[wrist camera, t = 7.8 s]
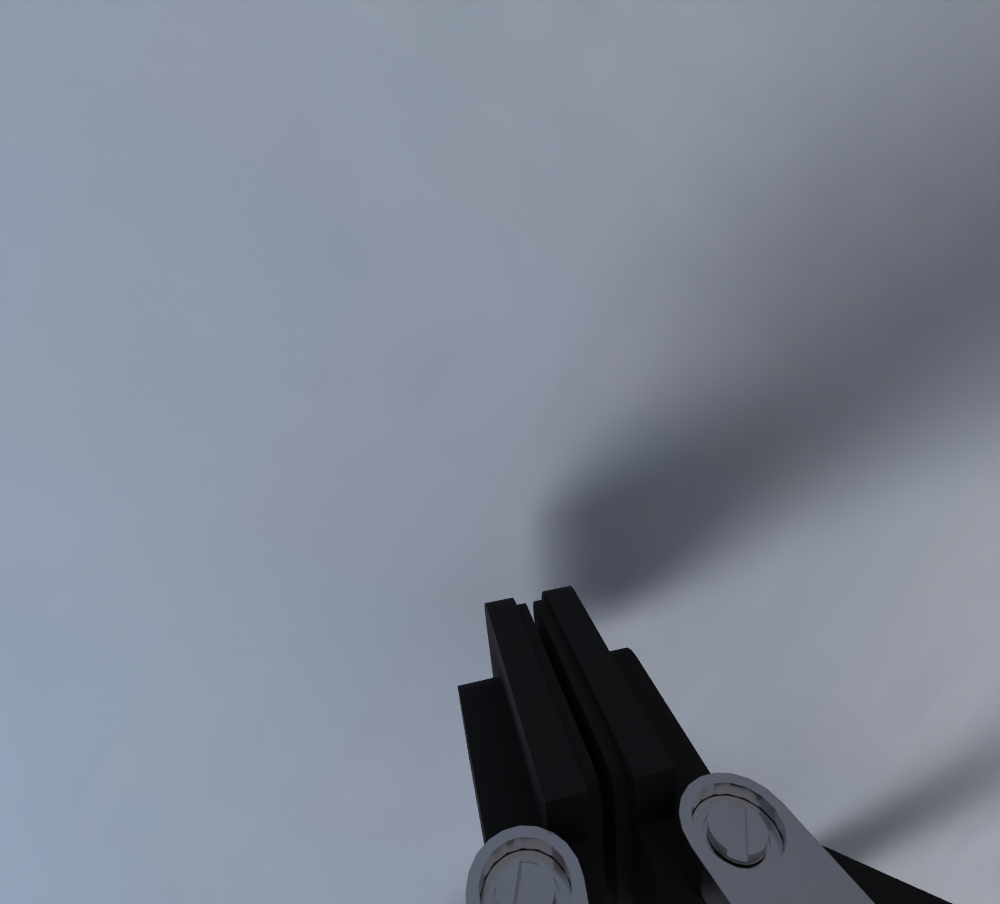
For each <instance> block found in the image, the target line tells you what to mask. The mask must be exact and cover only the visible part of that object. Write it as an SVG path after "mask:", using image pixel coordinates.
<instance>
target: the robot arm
mask: <svg viewBox="0 0 1000 904" xmlns="http://www.w3.org/2000/svg"><path fill="white" fill-rule="evenodd" d="M533 611H534V621H533V619H532V616H531V614H530V611H529V609H528V607H527V605H526V603H524V604H519V605H516V602H515V600H514V598H509V599H504V600H499V601H494V602H489V603H485V615H486V623H487V631H488V639H489V647H490V655H491V663H492V672H493V678H491V679H486V680H482V681H477V682H473V683H469V684H464V685H460V686H458V691H459V698H460V704H461V711H462V717H463V724H464V730H465V736H466V742H467V748H468V754H469V760H470V765H471V771H472V777H473V783H474V788H475V794H476V800H477V805H478V811H479V817H480V822H481V828H482V834H483V840H484V846H483V847H482V848H481V849H480V851H479V852H478V853H477V854H476V857H475V859H474V861H473V863H472V865H471V868H470V870H469V873H468V880H467V887H466V904H952V903H950V902H947V901H945V900H943V899H941V898H938V897H936V896H934V895H932V894H929V893H927V892H925V891H923V890H920V889H918V888H916V887H914V886H912V885H909V884H907V883H905V882H903V881H900V880H898V879H896V878H894V877H891V876H889V875H887V874H885V873H882V872H880V871H878V870H876V869H874V868H871V867H869V866H867V865H865V864H862V863H860V862H858V861H856V860H853V859H851V858H849V857H847V856H844V855H842V854H840V853H838V852H836V851H833V850H831V849H829V848H827V847H824V846H822V845H821V844H820V843H819V842H818V841H817V840H816V839H815V838H814V837H813V835H812V834H811V833H810V832H809V831H808V830H807V829H806V828H805V827H804V826H803V825H802V823H801V822H800V821H799V820H798V819H797V818H796V817H795V816H794V815H793V814H792V813H791V811H790V810H789V809H788V808H787V807H786V806H785V805H784V804H783V803H782V802H781V801H780V800H779V799H778V798H777V797H776V796H775V795H774V794H772V793H771V792H770V791H769V790H768V789H767V788H765V787H763V786H762V785H760V784H758V783H756V782H754V781H753V780H751V779H749V778H746V777H742V776H739V775H735V774H732V773H712V774H710V772H709V770H708V769H707V767H706V766H705V764H704V763H703V761H702V759H701V758H700V756H699V755H698V753H697V751H696V750H695V748H694V747H693V745H692V744H691V742H690V740H689V739H688V737H687V736H686V734H685V732H684V731H683V729H682V728H681V726H680V725H679V723H678V721H677V720H676V718H675V717H674V715H673V714H672V712H671V710H670V709H669V707H668V706H667V704H666V702H665V701H664V699H663V698H662V696H661V695H660V693H659V691H658V690H657V688H656V687H655V685H654V684H653V682H652V680H651V679H650V677H649V676H648V674H647V672H646V671H645V669H644V668H643V666H642V665H641V663H640V661H639V660H638V658H637V657H636V655H635V654H634V653H633V651H632V650H631V649H629V648H623V649H619V650H614V651H609V650H608V648H607V646H606V644H605V643H604V641H603V639H602V637H601V636H600V634H599V632H598V630H597V629H596V627H595V625H594V624H593V622H592V620H591V618H590V617H589V615H588V613H587V611H586V610H585V608H584V606H583V604H582V603H581V601H580V599H579V597H578V596H577V594H576V592H575V590H574V589H573V588H572V587H571V586H567V587H562V588H558V589H553V590H548V591H543V592H542V600H538V601H534V602H533ZM534 622H535V624H534Z"/></svg>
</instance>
